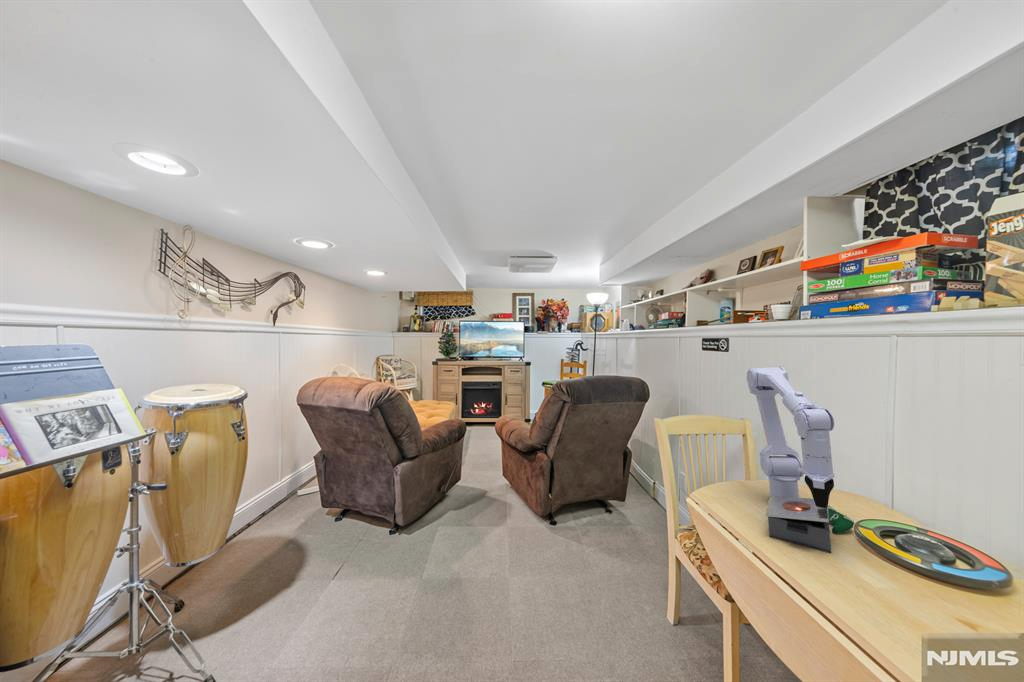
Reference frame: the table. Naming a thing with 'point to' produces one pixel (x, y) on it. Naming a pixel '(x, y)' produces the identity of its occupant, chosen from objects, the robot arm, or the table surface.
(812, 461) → the robot arm
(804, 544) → the storage bin
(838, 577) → the table surface
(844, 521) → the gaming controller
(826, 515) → the lid
